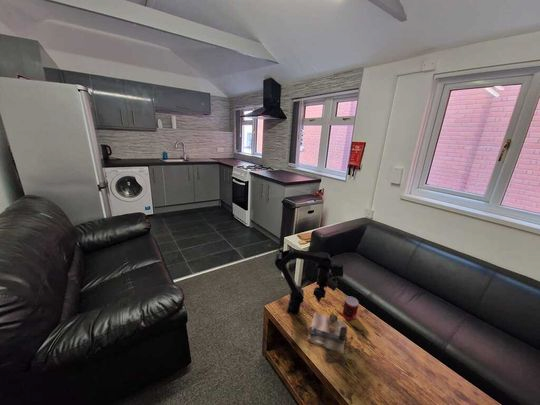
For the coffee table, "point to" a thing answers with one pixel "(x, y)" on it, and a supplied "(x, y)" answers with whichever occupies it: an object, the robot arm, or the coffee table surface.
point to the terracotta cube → (331, 328)
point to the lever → (329, 334)
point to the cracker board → (323, 324)
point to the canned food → (350, 308)
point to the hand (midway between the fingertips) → (319, 296)
